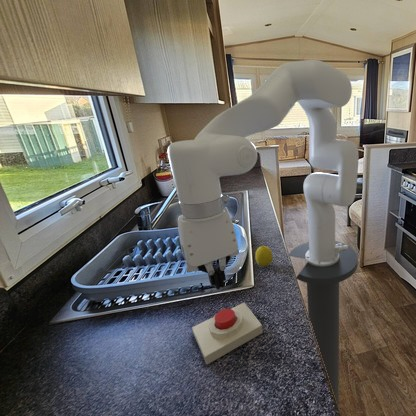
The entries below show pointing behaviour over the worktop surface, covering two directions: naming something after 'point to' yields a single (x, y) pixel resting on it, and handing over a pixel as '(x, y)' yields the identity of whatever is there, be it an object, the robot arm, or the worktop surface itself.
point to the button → (225, 319)
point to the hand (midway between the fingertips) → (218, 285)
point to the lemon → (263, 256)
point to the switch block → (226, 334)
